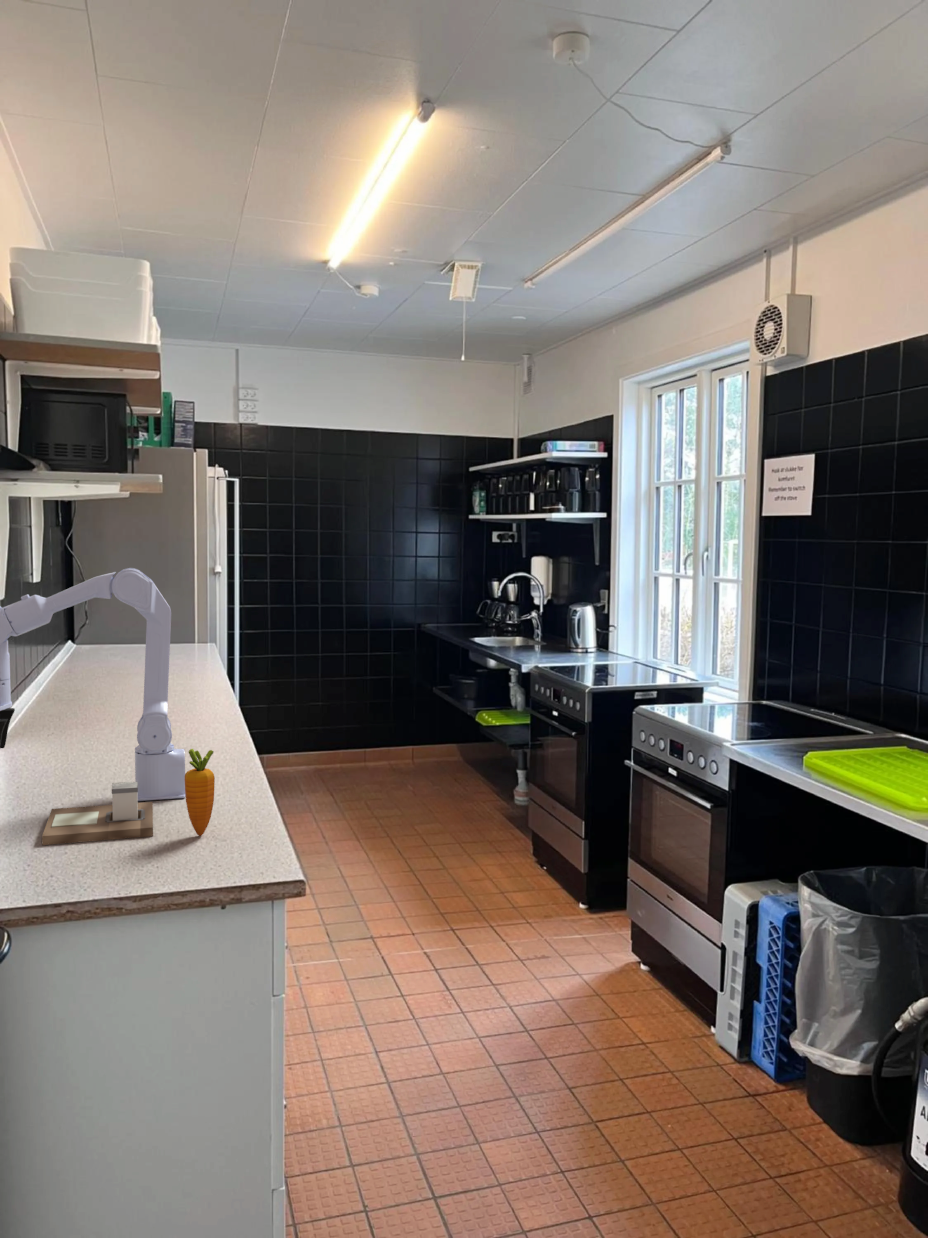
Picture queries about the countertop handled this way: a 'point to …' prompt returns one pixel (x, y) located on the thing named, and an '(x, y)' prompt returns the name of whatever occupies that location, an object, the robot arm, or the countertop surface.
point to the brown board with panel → (95, 824)
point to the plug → (125, 800)
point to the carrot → (199, 791)
